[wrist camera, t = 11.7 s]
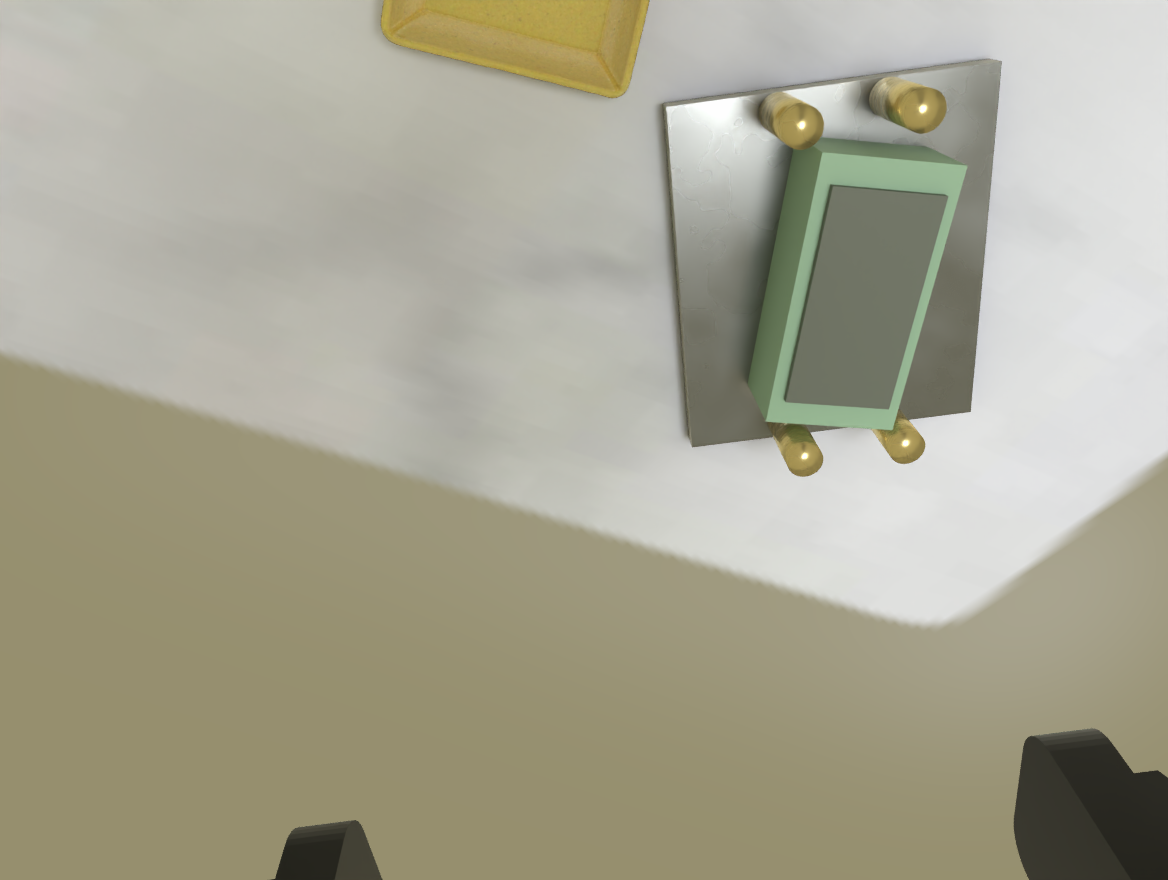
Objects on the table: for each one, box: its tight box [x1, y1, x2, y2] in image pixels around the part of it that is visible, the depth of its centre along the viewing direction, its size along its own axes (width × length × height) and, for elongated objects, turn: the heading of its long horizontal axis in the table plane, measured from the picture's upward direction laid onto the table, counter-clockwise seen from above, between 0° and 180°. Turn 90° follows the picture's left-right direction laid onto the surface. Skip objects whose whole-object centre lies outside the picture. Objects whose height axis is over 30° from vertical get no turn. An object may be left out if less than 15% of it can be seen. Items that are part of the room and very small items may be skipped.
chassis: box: [663, 59, 1002, 477], centre depth 34 cm, size 14×12×4 cm
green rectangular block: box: [748, 137, 967, 430], centre depth 34 cm, size 10×5×4 cm, turn 175°
